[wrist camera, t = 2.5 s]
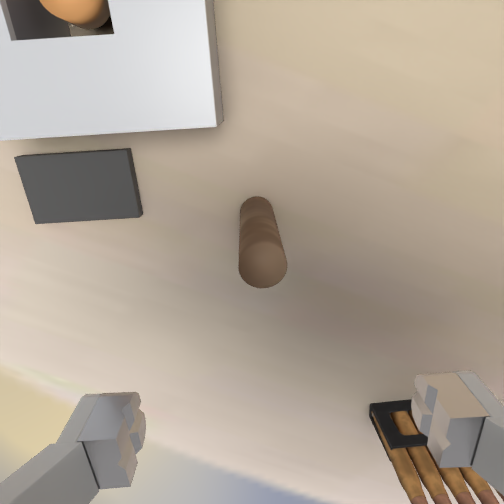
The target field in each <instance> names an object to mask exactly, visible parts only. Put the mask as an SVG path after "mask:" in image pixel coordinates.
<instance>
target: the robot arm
mask: <svg viewBox="0 0 504 504" xmlns="http://www.w3.org/2000/svg"><path fill="white" fill-rule="evenodd" d="M414 386H415V387H416V389H417V392H416V393H415V394H414V395H413V396H412V402H411V408H412V415H413V418H414V421H415V423H416V425H417V427H418V429H419V431H420V432H422V433H423V434H424V435H426V436H427V437H428V443H427V446H428V448H429V450H430V452H431V453H432V455H433V457H434V459H435V461H436V463H437V465H438V466H439V468H452V467H472V468H471V469H472V470H474V471H475V472H476V473H477V474H478V475H480V476H481V477H482V478H483V479H484V480H485V481H487V482H488V483H489V484H490V485H491V486H493V487H494V488H495V489H496V490H497V491H498V492H500V493H501V494H502V495H503V496H504V406H503V405H502V404H501V403H500V402H499V400H498V399H497V398H496V397H495V396H494V395H493V393H492V392H491V391H490V390H489V389H488V388H487V387H486V385H485V384H484V383H483V382H482V381H481V380H480V378H479V377H478V376H477V375H476V374H475V373H474V372H472V371H470V370H469V371H456V372H443V373H429V374H418V375H417V376H416V378H415V382H414ZM140 403H141V399H140V396H139V393H137V392H122V393H103V394H85V395H84V396H83V397H82V398H81V399H80V401H79V403H78V404H77V406H76V408H75V410H74V412H73V413H72V415H71V417H70V419H69V421H68V422H67V424H66V426H65V428H64V430H63V431H62V433H61V435H60V437H59V439H58V440H57V442H56V444H50V445H49V446H47V447H46V448H45V449H43V450H42V451H41V452H40V453H38V454H37V455H36V456H34V457H33V458H32V459H31V460H29V461H28V462H27V463H26V464H24V465H23V466H22V467H21V468H19V469H18V470H17V471H15V472H14V473H13V474H12V475H10V476H9V477H8V478H7V479H5V480H4V481H3V482H1V483H0V504H89V503H90V501H91V500H92V499H93V498H94V497H95V496H96V495H97V493H98V492H99V489H108V488H120V487H130V486H131V483H132V480H133V477H134V473H135V470H136V467H137V463H138V462H137V459H136V454H137V452H138V451H139V450H140V449H141V448H142V447H143V443H144V439H145V432H146V420H145V415H144V413H143V412H142V411H141V410H140V409H139V406H140Z"/></svg>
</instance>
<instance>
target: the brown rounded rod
mask: <svg viewBox="0 0 504 504" xmlns="http://www.w3.org/2000/svg"><path fill="white" fill-rule="evenodd" d="M286 271H287V261H286V257H285V253H284V249H283V246H282V242H281V238H280V235H279V231H278V227H277V223H276V220H275V216H274V212H273V209H272V206H271V204H270V203H269V201H268V200H266V199H265V198H262V197H251V198H249V199H247V200H246V201H245V202H244V203H243V205H242V207H241V210H240V236H239V273H240V275H241V277H242V279H243V280H244V281H245V282H246V283H247V284H249V285H251V286H253V287H256V288H268V287H272V286H274V285H276V284H277V283H279V282H280V281H281V280H282V279H283V277H284V276H285V274H286Z"/></svg>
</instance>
